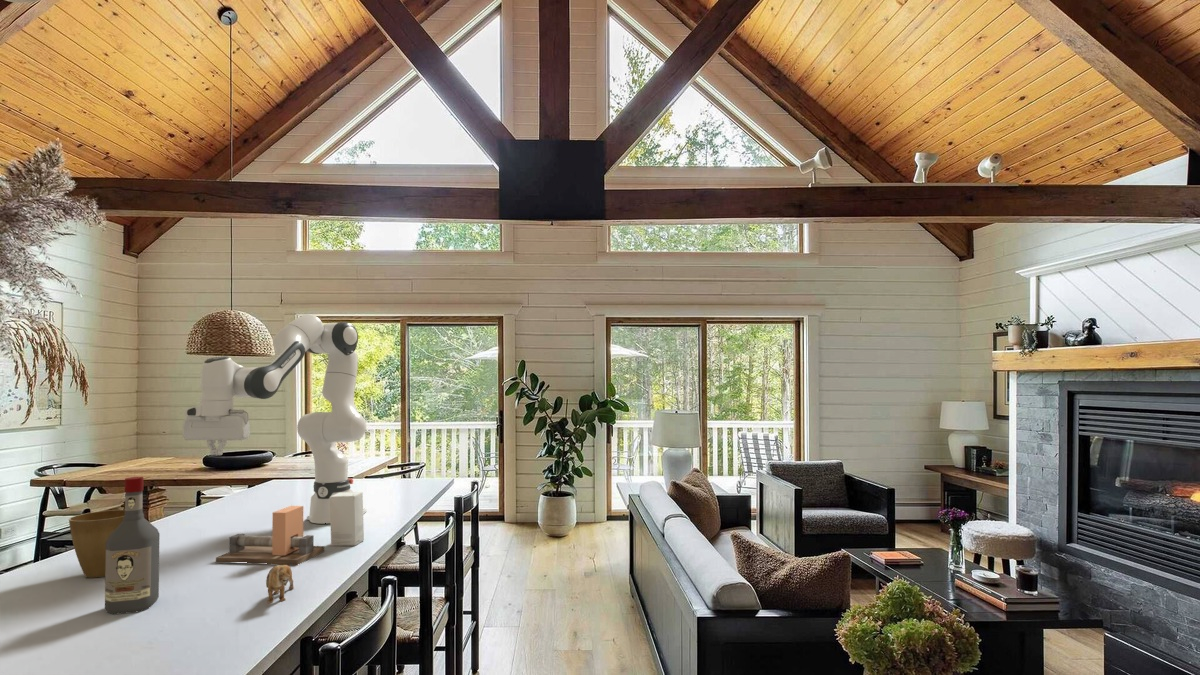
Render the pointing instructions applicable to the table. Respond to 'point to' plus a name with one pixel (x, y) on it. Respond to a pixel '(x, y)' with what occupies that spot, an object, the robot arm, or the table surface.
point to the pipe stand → (268, 550)
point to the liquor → (132, 557)
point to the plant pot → (93, 539)
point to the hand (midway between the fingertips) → (216, 455)
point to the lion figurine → (278, 581)
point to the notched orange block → (286, 529)
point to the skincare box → (346, 519)
